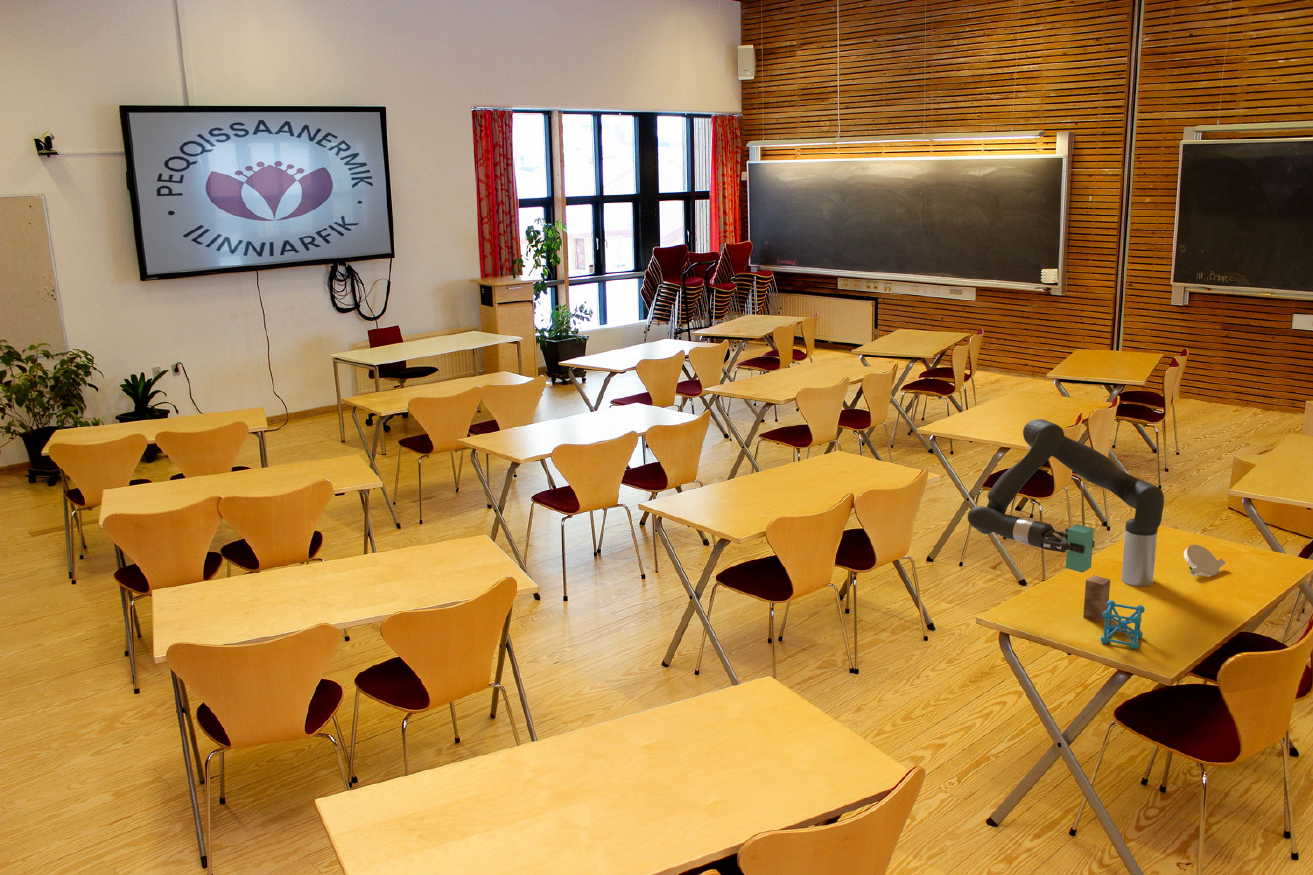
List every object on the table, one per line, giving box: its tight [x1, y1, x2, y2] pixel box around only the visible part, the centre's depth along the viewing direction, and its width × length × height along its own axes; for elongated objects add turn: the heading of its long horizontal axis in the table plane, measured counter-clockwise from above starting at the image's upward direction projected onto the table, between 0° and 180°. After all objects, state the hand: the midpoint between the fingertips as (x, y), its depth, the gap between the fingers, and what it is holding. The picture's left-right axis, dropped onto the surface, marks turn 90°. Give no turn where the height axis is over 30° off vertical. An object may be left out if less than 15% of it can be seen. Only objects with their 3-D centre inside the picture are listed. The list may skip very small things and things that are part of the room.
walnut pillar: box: [1082, 574, 1111, 623], centre depth 299 cm, size 5×5×12 cm
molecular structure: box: [1100, 599, 1146, 650], centre depth 284 cm, size 10×10×10 cm
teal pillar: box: [1065, 524, 1095, 573], centre depth 286 cm, size 5×5×12 cm
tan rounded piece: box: [1183, 544, 1226, 578], centre depth 328 cm, size 15×8×11 cm, turn 118°
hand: (1088, 547), depth 284 cm, fingers closed on teal pillar, 5 cm apart
